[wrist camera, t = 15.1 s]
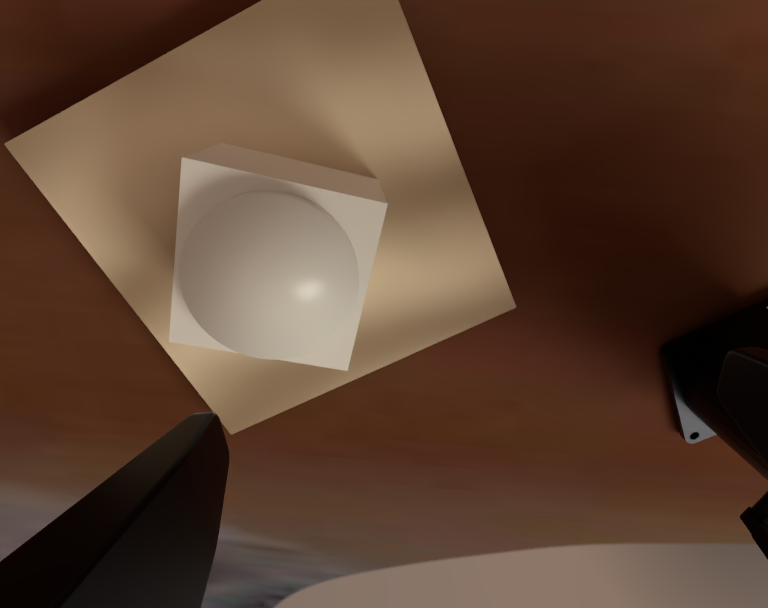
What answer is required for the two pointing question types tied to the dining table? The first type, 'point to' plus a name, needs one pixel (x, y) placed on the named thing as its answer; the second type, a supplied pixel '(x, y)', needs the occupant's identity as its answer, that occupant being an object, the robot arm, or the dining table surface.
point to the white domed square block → (272, 255)
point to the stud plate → (286, 139)
